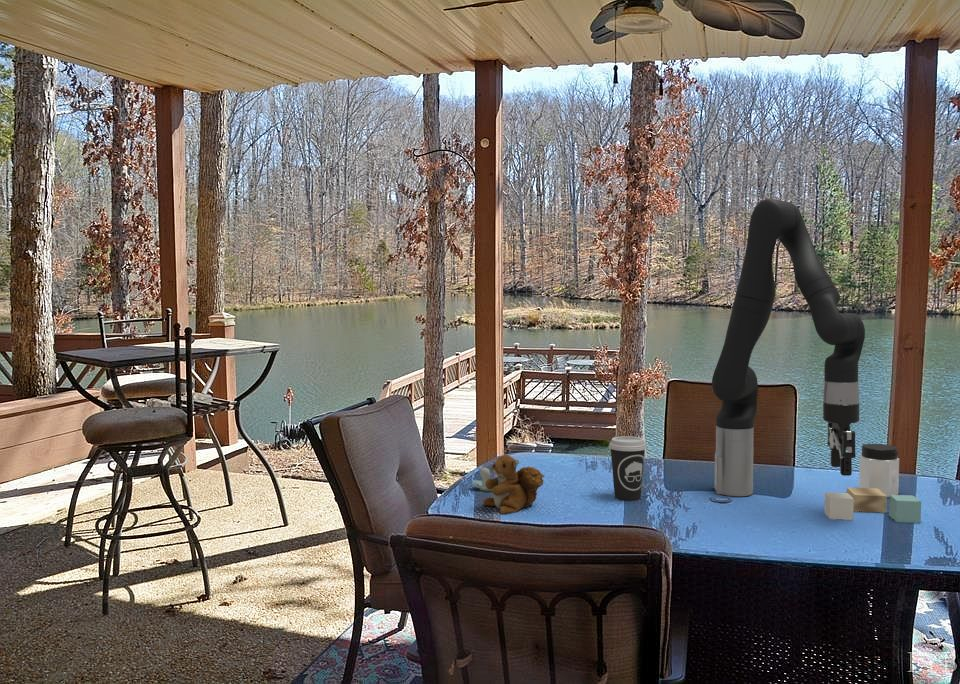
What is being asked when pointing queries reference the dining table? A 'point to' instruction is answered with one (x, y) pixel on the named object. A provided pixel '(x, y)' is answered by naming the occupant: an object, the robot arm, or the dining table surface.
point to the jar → (879, 468)
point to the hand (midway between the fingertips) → (840, 470)
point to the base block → (868, 499)
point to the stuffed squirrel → (512, 485)
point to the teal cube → (905, 508)
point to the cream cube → (839, 506)
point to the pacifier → (483, 480)
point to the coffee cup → (627, 466)
